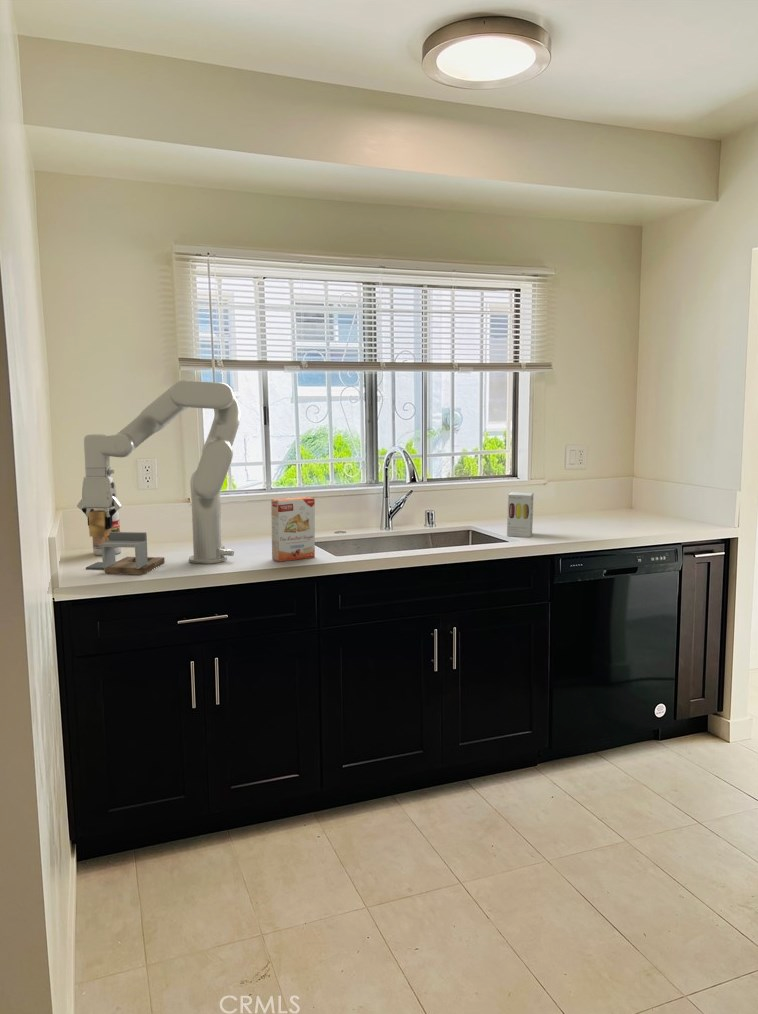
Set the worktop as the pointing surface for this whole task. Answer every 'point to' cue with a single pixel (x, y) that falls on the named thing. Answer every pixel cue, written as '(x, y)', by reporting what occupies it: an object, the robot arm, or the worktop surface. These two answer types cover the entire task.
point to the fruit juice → (115, 528)
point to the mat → (96, 566)
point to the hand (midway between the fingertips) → (100, 527)
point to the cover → (125, 540)
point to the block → (97, 524)
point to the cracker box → (293, 528)
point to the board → (134, 565)
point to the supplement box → (520, 514)
